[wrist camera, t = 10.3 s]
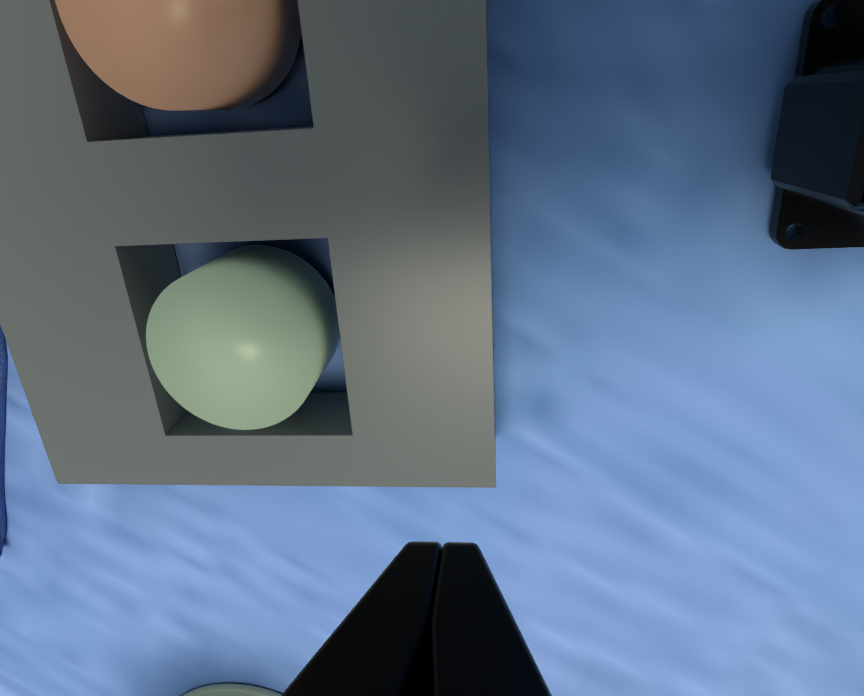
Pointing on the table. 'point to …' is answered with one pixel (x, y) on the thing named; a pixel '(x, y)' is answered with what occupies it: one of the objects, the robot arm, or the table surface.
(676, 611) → the table surface
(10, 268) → the button panel
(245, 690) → the sage green canister
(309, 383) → the sage button
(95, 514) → the table surface
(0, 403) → the dish towel
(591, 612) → the table surface
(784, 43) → the table surface
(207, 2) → the terracotta button
